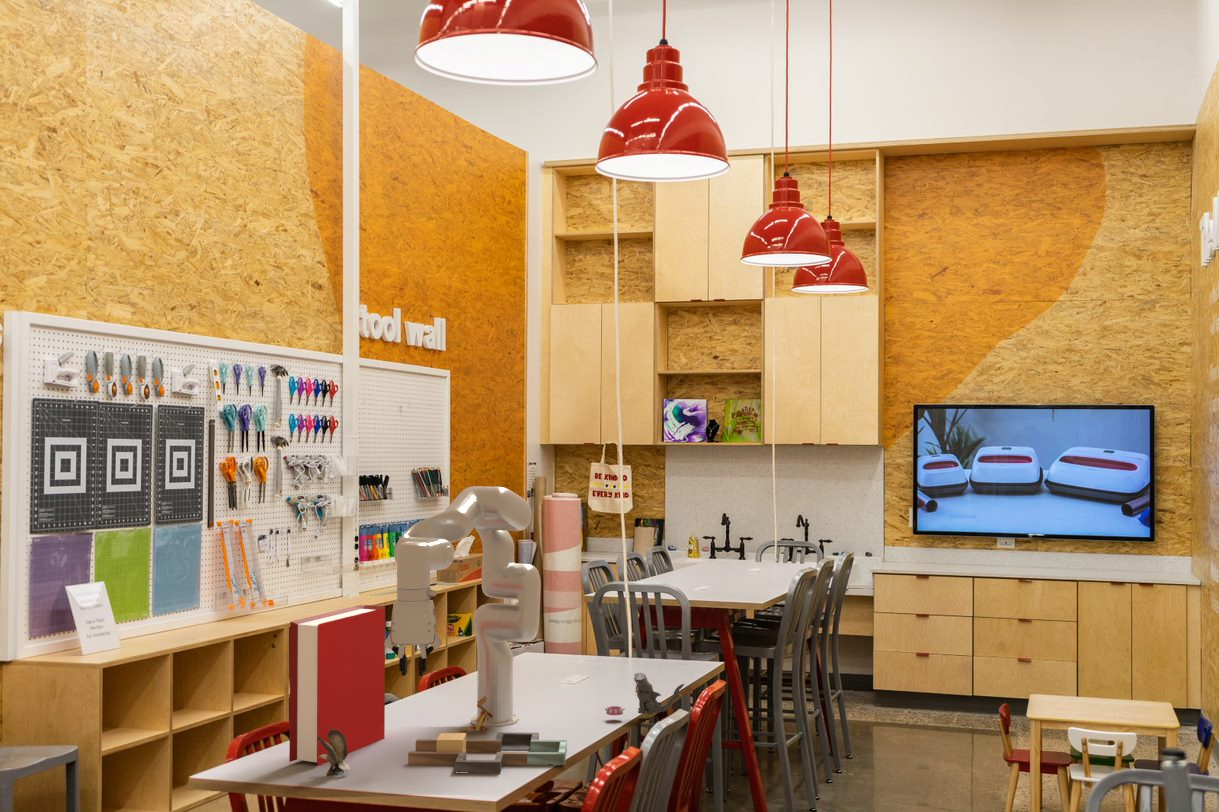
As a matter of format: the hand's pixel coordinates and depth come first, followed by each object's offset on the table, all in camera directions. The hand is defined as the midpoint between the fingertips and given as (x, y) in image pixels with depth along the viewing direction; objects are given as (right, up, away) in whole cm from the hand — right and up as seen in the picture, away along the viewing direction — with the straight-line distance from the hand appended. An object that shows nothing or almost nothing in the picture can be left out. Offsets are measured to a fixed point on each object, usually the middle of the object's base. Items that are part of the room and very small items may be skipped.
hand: (412, 673), depth 277 cm
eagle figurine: (-15, -19, -13) cm, 28 cm away
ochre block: (+9, -19, 0) cm, 21 cm away
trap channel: (+18, -19, 0) cm, 26 cm away
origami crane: (+13, -21, +18) cm, 30 cm away
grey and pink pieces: (+54, -20, +42) cm, 72 cm away
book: (-18, -20, +7) cm, 28 cm away
